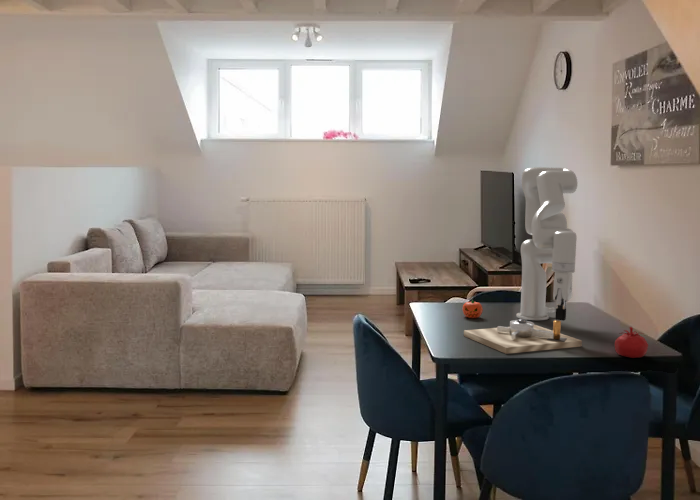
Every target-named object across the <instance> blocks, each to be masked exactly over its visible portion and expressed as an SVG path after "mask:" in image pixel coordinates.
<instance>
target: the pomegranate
mask: <svg viewBox="0 0 700 500" xmlns="http://www.w3.org/2000/svg"><path fill="white" fill-rule="evenodd" d="M633 330H634V328H633V327H632V326H630V327H629V330H625V329H624V333H623V332H619V334H620V335H619V336H618V337H617V338H616V339H615V341H614V350H615V352H616V354H617V355H619V356H622V357H626V358H631V359H636V358H638V359H639V358H643V357H644V356H646V354H647V352H648V348H649V343H648V342H647V340H646V339H645V337H644V336H642V335H640V333H639V332H637V331H636V330H635V331H633ZM621 334H622V335H621ZM641 334H643V335H644V333H643V332H641Z"/></svg>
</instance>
